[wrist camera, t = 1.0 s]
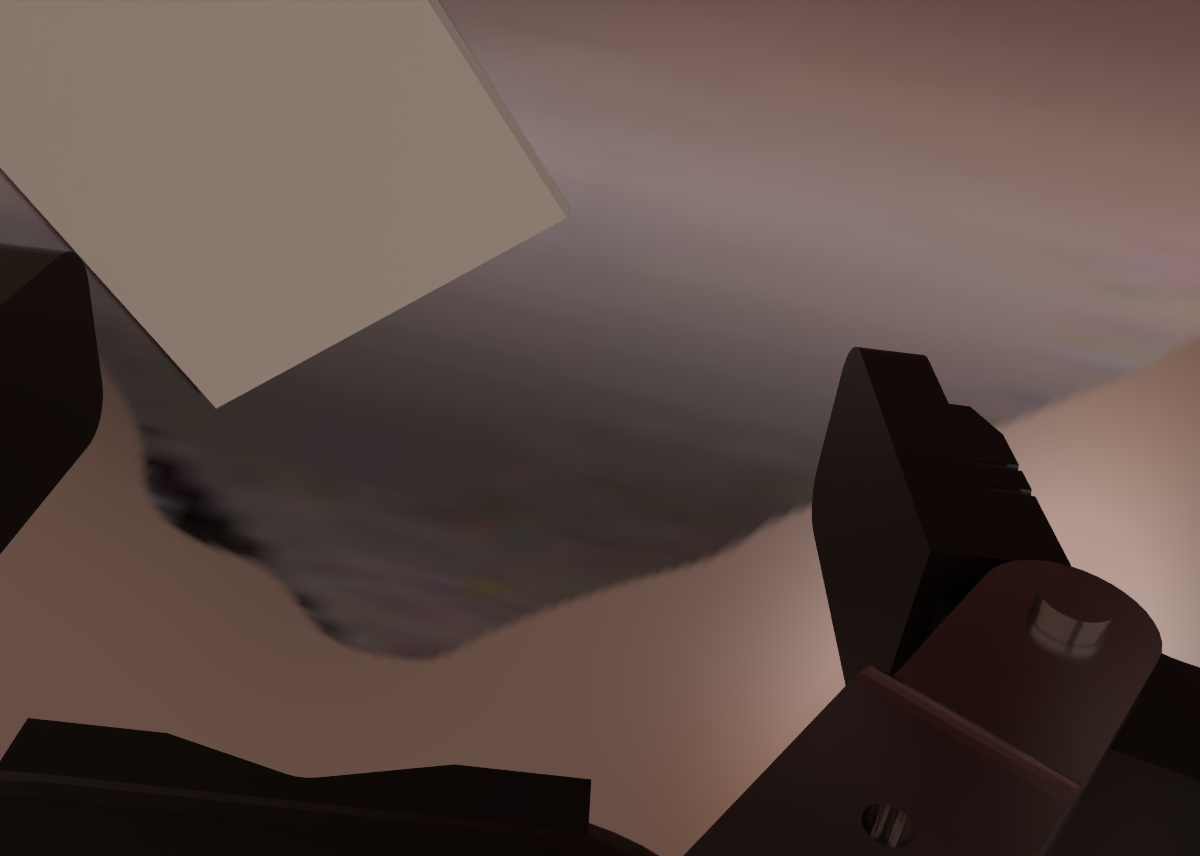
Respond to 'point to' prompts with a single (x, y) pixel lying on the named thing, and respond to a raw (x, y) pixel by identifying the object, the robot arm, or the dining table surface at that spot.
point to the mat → (263, 165)
